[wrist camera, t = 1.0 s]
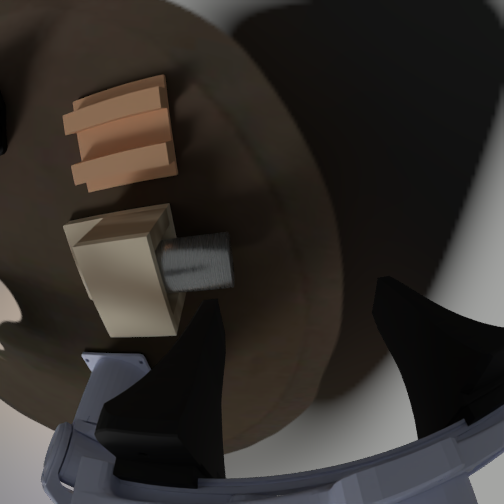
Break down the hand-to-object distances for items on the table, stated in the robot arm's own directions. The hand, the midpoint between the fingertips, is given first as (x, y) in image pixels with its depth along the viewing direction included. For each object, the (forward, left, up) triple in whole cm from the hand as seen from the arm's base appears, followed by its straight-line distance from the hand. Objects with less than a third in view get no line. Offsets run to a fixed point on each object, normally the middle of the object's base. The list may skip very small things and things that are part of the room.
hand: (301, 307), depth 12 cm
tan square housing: (-1, +12, -9) cm, 15 cm away
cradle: (+8, +10, -10) cm, 16 cm away
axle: (-1, +8, -7) cm, 11 cm away
